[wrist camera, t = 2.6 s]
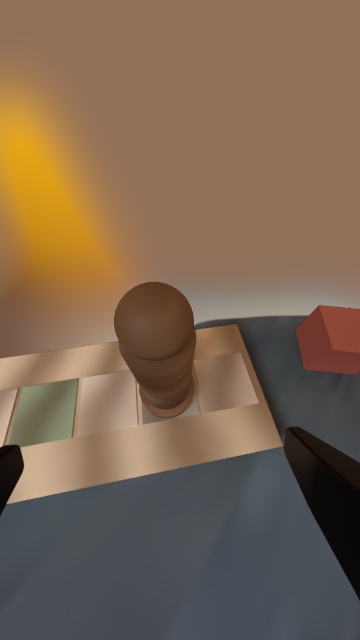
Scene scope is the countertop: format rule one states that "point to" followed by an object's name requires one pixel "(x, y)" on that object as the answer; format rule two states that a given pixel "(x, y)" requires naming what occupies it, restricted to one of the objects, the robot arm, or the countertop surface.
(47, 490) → the track board
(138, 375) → the pawn
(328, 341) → the red cube
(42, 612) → the countertop surface
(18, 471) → the robot arm
